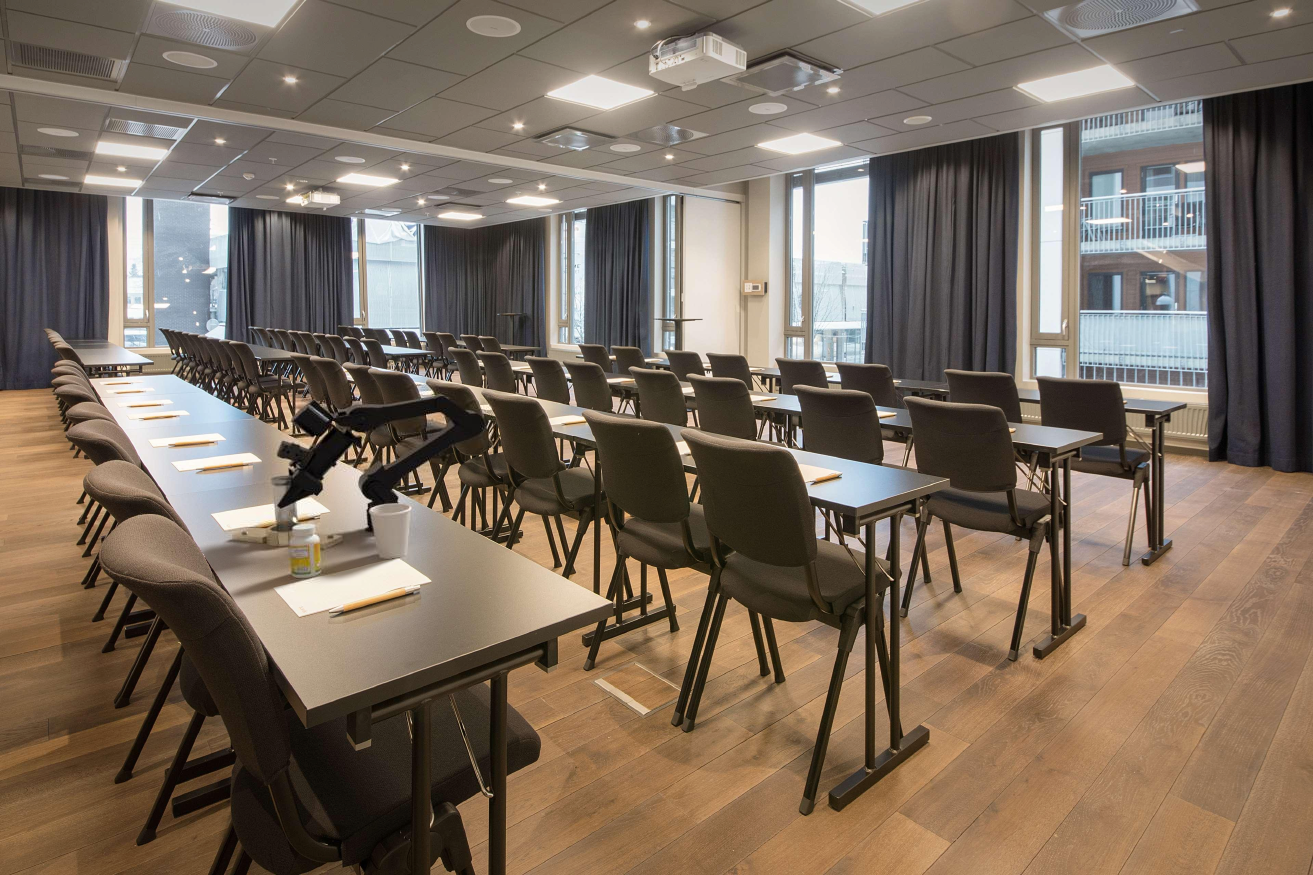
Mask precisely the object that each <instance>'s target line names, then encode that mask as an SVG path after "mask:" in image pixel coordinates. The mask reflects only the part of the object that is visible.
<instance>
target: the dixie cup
mask: <svg viewBox="0 0 1313 875" xmlns="http://www.w3.org/2000/svg"><path fill="white" fill-rule="evenodd" d="M411 510H412V506H410V505H409V504H406V503H399V504H398V503H395V504H383V505H378V506H375V507H372V508H371V509H370V510H369V513H370V514H371V519H372V524H373V529H374V531H373V534H374V539H375V544H376V550H377V554H378V557H379V558H381V559H386V560H387V559H388V560H389V559H391V560H392V558H394V559H398V558H397V557H400V558H403V557H405V556H407V554H408V543H409V531H410V530H409V529H410V521H411V520H410V518H411Z"/></svg>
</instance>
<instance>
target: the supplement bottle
mask: <svg viewBox="0 0 1313 875" xmlns="http://www.w3.org/2000/svg"><path fill="white" fill-rule="evenodd" d="M292 533H293V535H294V537H292V538H291V539H290V542H289V556H290V570H291V572H290V573H291V576H292V577H293V578H297V579H308V578H313V577H316V576H318V575H320V574H321V573H322V559H321V549H320V539H319V537H318V536H317V535H315V534H314V533H316V525H315V524H314V523H305V524H299V525H296V526H293V527H292Z"/></svg>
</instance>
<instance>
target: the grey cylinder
mask: <svg viewBox="0 0 1313 875" xmlns="http://www.w3.org/2000/svg"><path fill="white" fill-rule="evenodd" d="M270 484H271V486H272V495H273V505H274V516H275V525H276V529H277V532H285V531H292V527H293V526H296V525H298V522H299V519H298V507H297V502H295V503H292V504H290V505H288V506H286V507H284V508H282V509H280V508H279V507H277V505H278V503H279V502H280V500H281V498H282V497H283V495H284V494H285V492H286V491H287V489H288V488H289V486H290V484H291V483H290V476H289V475H279V476H278V475H277V476H273V477H271V478H270Z"/></svg>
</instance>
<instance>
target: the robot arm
mask: <svg viewBox="0 0 1313 875" xmlns="http://www.w3.org/2000/svg"><path fill="white" fill-rule="evenodd" d="M437 413H441V414H442V415H443V416H445V417H446V418H447V419H449V421H448V422H447V424H446V425H445V426H444V428H443V429H442V430H440V431H439V432H437V433H436V434H434V435H433V436H431V437H429V438H427V439H426V440H424V441H423V442H422V443H420V444H418V445H417V446H415V447H413V449H411V450H409V451H407V452H406V453H404V454H403V455H401V456H400V457H398V458H396V459H395V460H393V461H392V462H389V463H387V464H383V463H382V462H381V461H380V460H378V461H376V462H375V463H374V464H373V465H372V466H370V467H368V468H365V469H363V473H362V474H361V475H360V476H359V479H358V482H357V483H358V486H357V487H358V489H359V490H360V493H362V495H363V497H364V498H366V499H367V500H369V501H370V502H368V503H367V504H366V505H367V508H366V510H365V511H366V525H367V527H365V528H364V531H365V532H366V531H367V532H374V529H373V524H372V519H371V514H370V513H369V510H370V509H371V508H372V507H375V506H378V505H383V504H395V503H398V504H400V503H399V496H398V495H397V493H396V492H395V491H394V490H393V489H394V488H395V487H396V486H397V485H398V483H399V482H400V481H401V479H403V478H404V477H406V476H407V475H409V474H410V473H412V472H413V471H415V470H417V469H418V468H420V467H421V466H423V465H424V464H426V463H428V462H429V461H430V460H432V459H433V458H435V457H436V456H438V455H440V454H441V453H443V452H444V451H446V450H447V449H449V448H450V447H452V446H454V445H456V444H459V443H462V442H463V443H464V442H466V441H468V440H469V441H470V440H471V439H473V438H476V437H478V436H480V435H481V434H482V433H483V432H484V431H485V426H486V424H485V419H484V417H483V416H482V415H480V414H479V413H477V412H475V411H473V410H469V409H464V408H463V407H461V406H459V405H458V404H457V403H455V402H453V401H452V400H450V398H449V397H448V396H446V395H443V394H440V393H439V394H435V395H433V396H427V397H421V398H416V399H411V400H404V401H399V402H393V403H389V404H388V403H387V404H371V403H367V404H365V403H362V404H360V403H359V404H353V405H350V406H349V407H348V408H347V409H346V410H343V411H338V412H337V411H336V412H332V413H331V412H330V411H328V410H326V408H324V406H322V405H321V404H320V403H319V402H318V401H317V400H316V399H314V398H313V399H311V400H310V401H309V402H308V403H307V404H305V405H304V406H303V407H301V408H299V410H297V412H296V413H295V414H294V415H293V417H292V418H291V420H290V422H291V423H292V424H293V425H295V426H296V427H297V428H299V429H300V430H301V431H302V432H304V433H305V434H306V435H307V436H309V437H310V438H313V439H314V437H317V438H321V437H322V436H323V437H322V438H321V439H320V440H319V441H318V442H317V443H316V444H311V446H309V447H308V448H306V447H304V446H302V445H300V443H298V444H297V443H295V442H289V441H285V440H281V442H280V444H279V447H278V449H277V452H276V457H278V458H280V459H283V460H284V459H286V460H289V461H290V462H289V463H288V465H289V467H287V472H288V476H290V483H291V484H290V486H289V488H288V489H287V491H286V492H285V494H284V495H283V497H282V498H281V500H280V502H279V503H278V505H277V507H279V508H280V509H282V508H284V507H286V506H288V505H290V504H292V503H295V502H296V503H297V502H298V501H302V500H304V499H306V498H308V497H310V496H313V495H314V496H316V497H318V496H319V494H320V493H321V492H322V491H323V490H324V485H323V480H324V479H325V477H324V476H325V475H326V474H327V473H328V472H329V471H330V470H331V469H332V468H335V467H336V466H337V465H338V464H337V462H338V461H339V460H340V459H341V458H342V457H343V456H344V455H345V454H346V453H347V451H348V450H349V449H350V448H351V447H352V446H353V445H355V446H356V447H357V448H359V450H361V449H363V443H362V442H363V436H362V435H360V434H359V435H355V434H354V433H353V432H355V433H366V432H369V431H371V430H374V429H377V428H379V427H381V426H384V425H385V424H388V423H391V422H395V421H401V420H405V419H411V418H416V417H423V416H427V415H434V414H437ZM333 422H334V423H335V424H336V425H337V426H336V425H335V424H334V423H333ZM339 427H345V428H343V429H340V428H339ZM330 428H331V429H330ZM348 428H350V430H351V431H350V430H349V429H348ZM352 431H353V432H352ZM326 432H327V433H326ZM325 433H326V434H325ZM292 467H293V468H292ZM291 468H292V469H291Z"/></svg>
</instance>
